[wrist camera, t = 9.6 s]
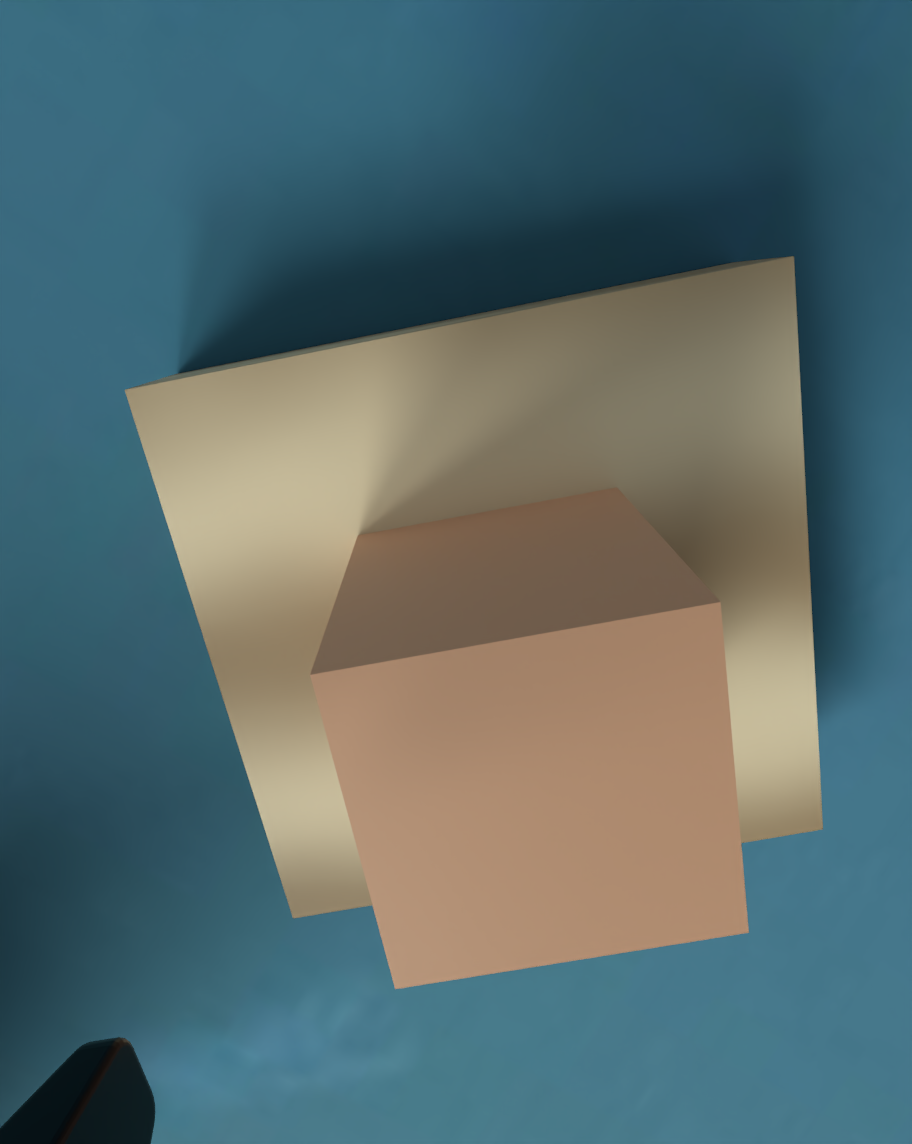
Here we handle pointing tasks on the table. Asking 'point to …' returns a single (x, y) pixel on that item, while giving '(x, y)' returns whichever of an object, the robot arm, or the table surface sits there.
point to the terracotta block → (533, 739)
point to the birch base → (495, 507)
